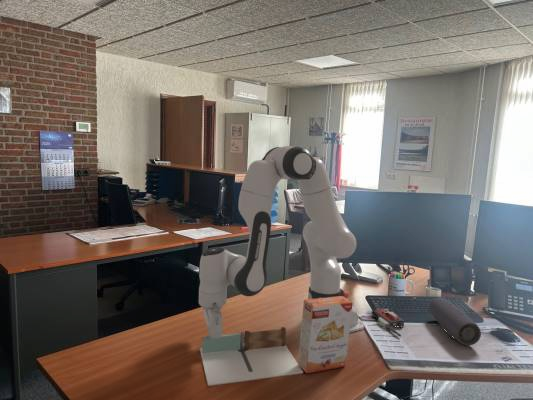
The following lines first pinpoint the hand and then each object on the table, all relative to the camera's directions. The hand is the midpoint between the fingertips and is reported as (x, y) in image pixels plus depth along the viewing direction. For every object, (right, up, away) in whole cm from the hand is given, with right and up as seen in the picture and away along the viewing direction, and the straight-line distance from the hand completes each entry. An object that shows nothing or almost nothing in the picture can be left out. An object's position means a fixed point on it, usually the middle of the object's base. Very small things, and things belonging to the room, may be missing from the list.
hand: (211, 338), depth 126 cm
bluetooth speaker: (+87, -5, +17) cm, 89 cm away
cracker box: (+35, -6, -8) cm, 36 cm away
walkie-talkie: (+66, -3, +22) cm, 69 cm away
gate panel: (+4, -3, -3) cm, 6 cm away
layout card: (+12, -5, -7) cm, 15 cm away
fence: (+17, -4, +1) cm, 18 cm away
